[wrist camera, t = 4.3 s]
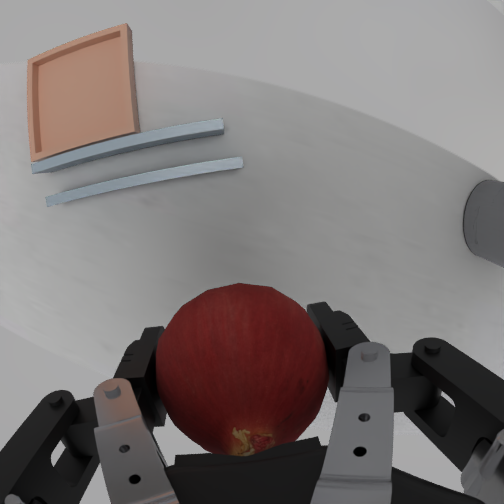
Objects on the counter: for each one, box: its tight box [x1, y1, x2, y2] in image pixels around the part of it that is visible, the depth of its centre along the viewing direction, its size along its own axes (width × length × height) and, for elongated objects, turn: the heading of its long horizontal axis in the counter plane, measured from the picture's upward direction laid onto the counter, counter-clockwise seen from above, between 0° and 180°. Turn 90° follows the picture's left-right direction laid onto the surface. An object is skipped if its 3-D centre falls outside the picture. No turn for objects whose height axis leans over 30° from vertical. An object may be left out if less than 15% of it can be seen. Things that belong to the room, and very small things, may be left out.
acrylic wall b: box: [31, 118, 224, 174], centre depth 22 cm, size 16×1×4 cm, turn 98°
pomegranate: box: [156, 283, 329, 456], centre depth 10 cm, size 6×6×8 cm
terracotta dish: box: [27, 23, 140, 162], centre depth 21 cm, size 10×10×2 cm
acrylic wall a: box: [45, 157, 243, 207], centre depth 23 cm, size 16×1×4 cm, turn 98°
